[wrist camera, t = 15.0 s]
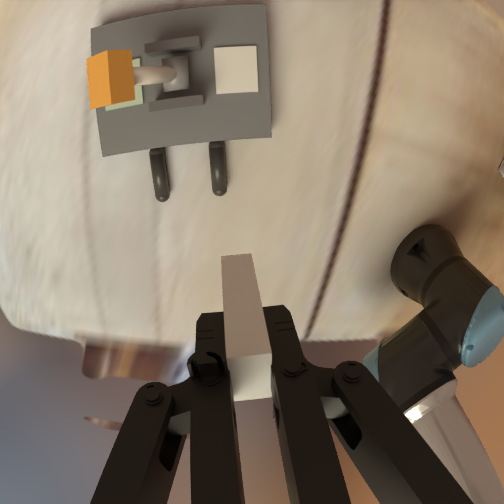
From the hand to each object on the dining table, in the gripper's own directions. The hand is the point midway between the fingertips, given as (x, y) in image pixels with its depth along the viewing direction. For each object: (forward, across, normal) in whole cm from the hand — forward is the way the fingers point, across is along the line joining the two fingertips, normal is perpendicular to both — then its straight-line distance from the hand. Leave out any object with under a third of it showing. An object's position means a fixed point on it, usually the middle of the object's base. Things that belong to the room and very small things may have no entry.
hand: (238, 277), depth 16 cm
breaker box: (+28, +5, -8) cm, 30 cm away
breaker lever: (+25, +4, -12) cm, 28 cm away
